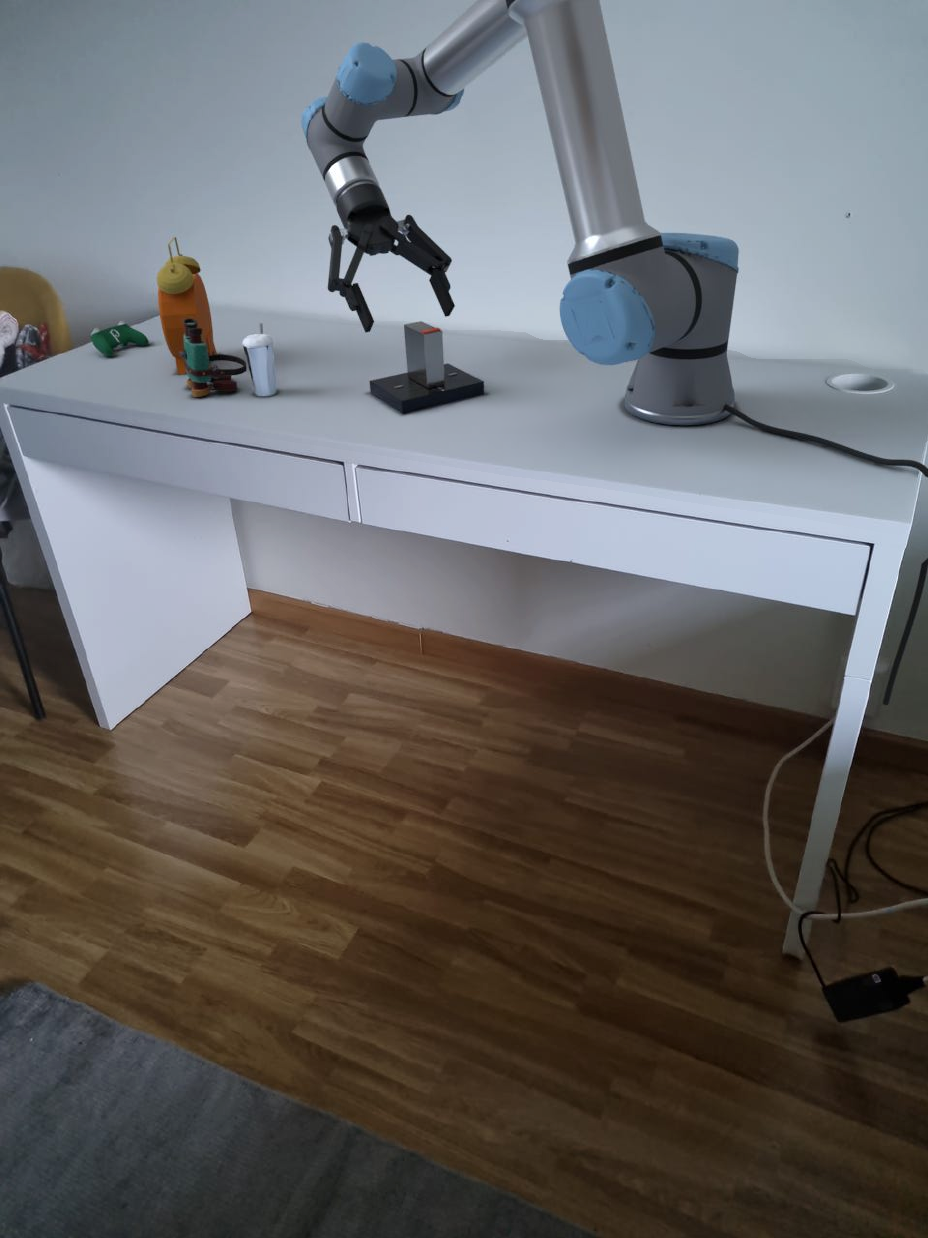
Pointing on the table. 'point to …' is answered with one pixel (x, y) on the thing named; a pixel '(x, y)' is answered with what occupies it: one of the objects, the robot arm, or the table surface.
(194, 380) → the binoculars
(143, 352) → the table surface
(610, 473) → the table surface
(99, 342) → the gaming controller
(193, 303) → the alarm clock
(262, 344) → the milkshake
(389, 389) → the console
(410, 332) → the red-capped silver block
